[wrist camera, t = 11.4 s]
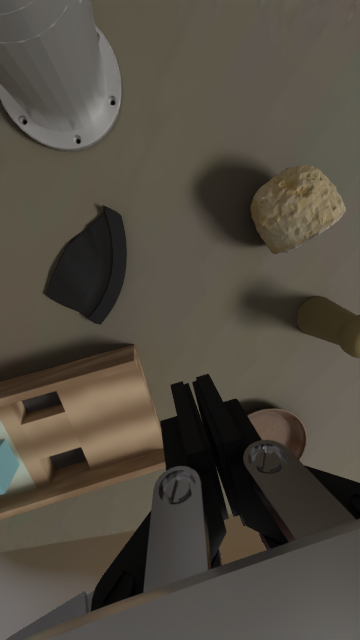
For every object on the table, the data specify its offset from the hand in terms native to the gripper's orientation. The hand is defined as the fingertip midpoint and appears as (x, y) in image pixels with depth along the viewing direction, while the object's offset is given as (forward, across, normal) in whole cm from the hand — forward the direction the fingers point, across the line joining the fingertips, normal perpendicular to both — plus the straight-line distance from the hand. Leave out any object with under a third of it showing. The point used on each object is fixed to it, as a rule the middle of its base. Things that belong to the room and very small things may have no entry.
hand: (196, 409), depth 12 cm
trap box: (+27, +18, +15) cm, 36 cm away
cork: (+27, -22, +10) cm, 36 cm away
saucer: (+27, -10, +29) cm, 41 cm away
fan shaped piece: (+28, +7, -4) cm, 29 cm away
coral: (+27, -18, -6) cm, 33 cm away
